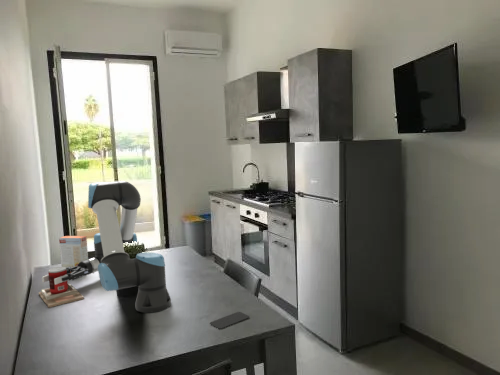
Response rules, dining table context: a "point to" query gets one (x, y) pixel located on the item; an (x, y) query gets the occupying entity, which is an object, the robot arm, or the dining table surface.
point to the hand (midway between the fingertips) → (48, 280)
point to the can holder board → (60, 296)
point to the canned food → (57, 273)
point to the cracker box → (73, 250)
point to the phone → (229, 320)
